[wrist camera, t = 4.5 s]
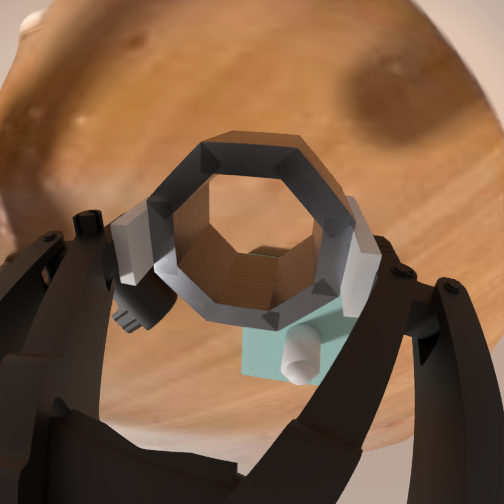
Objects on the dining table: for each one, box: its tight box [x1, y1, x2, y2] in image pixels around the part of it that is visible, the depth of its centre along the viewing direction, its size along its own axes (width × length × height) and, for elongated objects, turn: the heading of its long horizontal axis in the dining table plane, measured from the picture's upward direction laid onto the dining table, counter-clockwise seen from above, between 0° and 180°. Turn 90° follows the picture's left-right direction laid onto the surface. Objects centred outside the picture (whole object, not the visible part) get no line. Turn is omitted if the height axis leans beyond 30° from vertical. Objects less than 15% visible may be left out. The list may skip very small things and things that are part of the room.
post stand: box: [241, 253, 358, 385], centre depth 30 cm, size 14×18×8 cm
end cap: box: [112, 267, 178, 333], centre depth 31 cm, size 10×7×7 cm
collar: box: [146, 131, 356, 331], centre depth 14 cm, size 8×8×5 cm
